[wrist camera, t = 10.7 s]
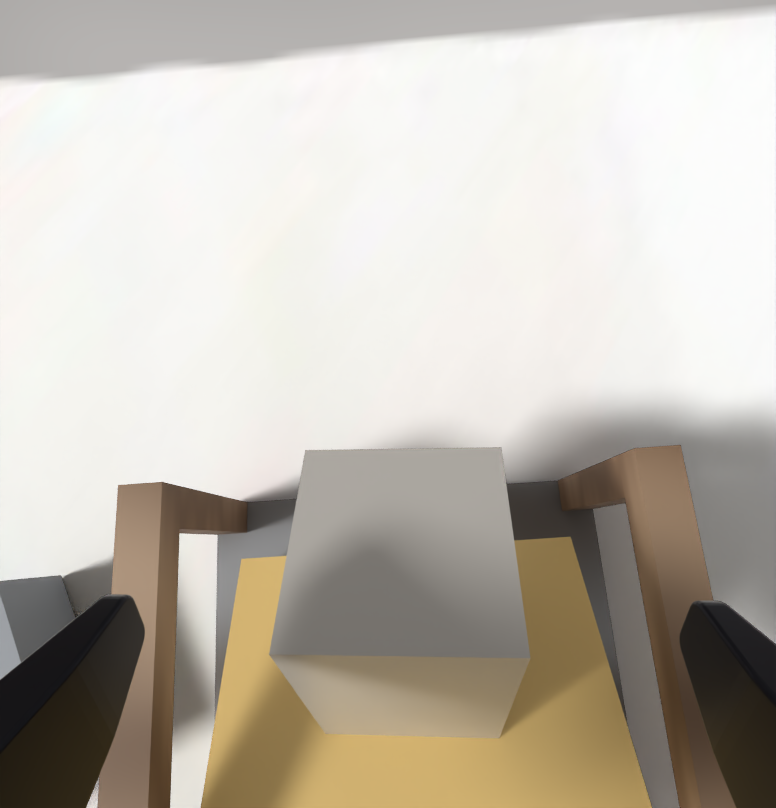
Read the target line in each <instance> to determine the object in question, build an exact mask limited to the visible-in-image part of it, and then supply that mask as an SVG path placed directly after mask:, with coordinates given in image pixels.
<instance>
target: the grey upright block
mask: <svg viewBox="0 0 776 808" xmlns="http://www.w3.org/2000/svg"><path fill="white" fill-rule="evenodd" d="M269 655H270V656H271V658H272V659H273V661H274V662H275V664H276V665H277V666H278V668H279V669H280V671H281V672H282V673H283V675H284V676H285V678H286V679H287V680H288V682H289V683H290V685H291V686H292V688H293V689H294V690H295V692H296V693H297V695H298V696H299V697H300V699H301V700H302V702H303V703H304V704H305V706H306V707H307V709H308V710H309V711H310V713H311V714H312V716H313V717H314V719H315V720H316V721H317V723H318V724H319V726H320V727H321V728H322V730H323V731H324V733H325V734H348V735H386V736H424V737H463V738H500V735H501V732H502V730H503V727H504V725H505V722H506V720H507V717H508V714H509V712H510V709H511V707H512V704H513V702H514V699H515V697H516V694H517V691H518V689H519V686H520V684H521V681H522V679H523V676H524V674H525V671H526V668H527V666H528V663H529V661H530V651H529V644H528V637H527V630H526V623H525V615H524V608H523V601H522V594H521V586H520V579H519V572H518V565H517V558H516V550H515V543H514V536H513V529H512V521H511V514H510V507H509V500H508V493H507V485H506V478H505V471H504V464H503V457H502V449H501V447H493V448H427V449H360V450H305V455H304V461H303V466H302V472H301V478H300V483H299V489H298V495H297V500H296V506H295V511H294V517H293V523H292V528H291V534H290V540H289V545H288V551H287V556H286V562H285V568H284V573H283V579H282V584H281V590H280V596H279V601H278V607H277V613H276V618H275V624H274V629H273V635H272V641H271V646H270V652H269Z"/></svg>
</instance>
